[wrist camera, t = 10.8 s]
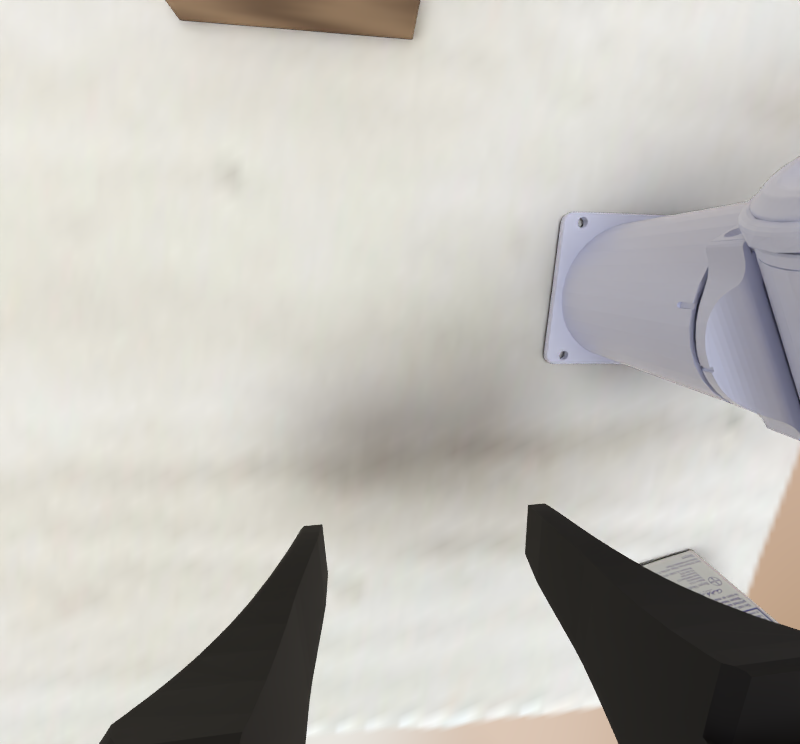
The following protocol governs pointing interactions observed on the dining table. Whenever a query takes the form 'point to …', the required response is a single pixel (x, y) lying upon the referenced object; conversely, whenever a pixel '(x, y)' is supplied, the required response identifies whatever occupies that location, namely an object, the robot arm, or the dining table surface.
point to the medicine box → (705, 581)
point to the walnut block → (308, 15)
